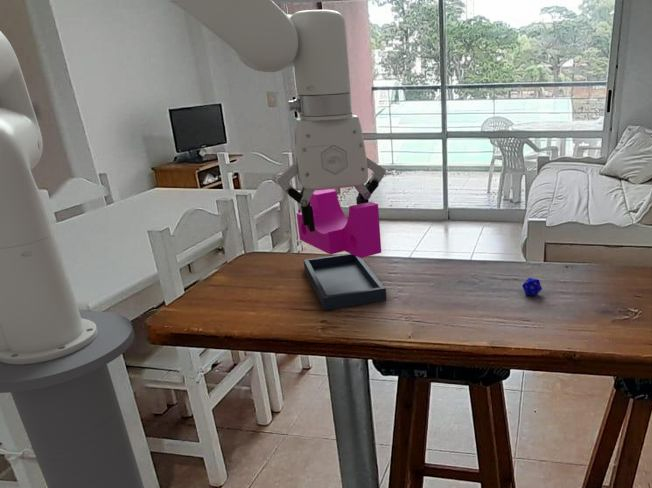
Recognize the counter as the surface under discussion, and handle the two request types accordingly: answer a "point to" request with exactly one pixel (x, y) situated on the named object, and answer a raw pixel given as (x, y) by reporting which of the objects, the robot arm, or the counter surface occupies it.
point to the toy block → (342, 226)
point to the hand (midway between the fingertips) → (337, 225)
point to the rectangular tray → (343, 281)
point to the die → (532, 287)
